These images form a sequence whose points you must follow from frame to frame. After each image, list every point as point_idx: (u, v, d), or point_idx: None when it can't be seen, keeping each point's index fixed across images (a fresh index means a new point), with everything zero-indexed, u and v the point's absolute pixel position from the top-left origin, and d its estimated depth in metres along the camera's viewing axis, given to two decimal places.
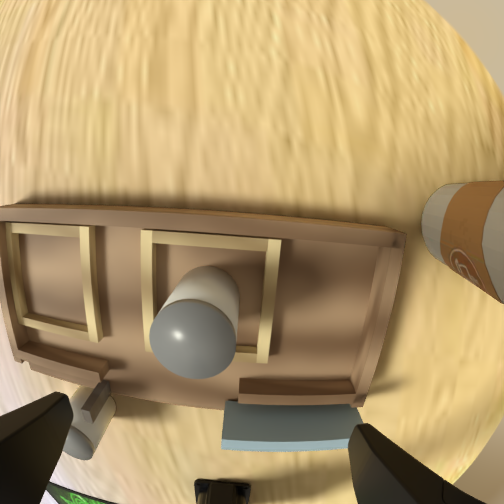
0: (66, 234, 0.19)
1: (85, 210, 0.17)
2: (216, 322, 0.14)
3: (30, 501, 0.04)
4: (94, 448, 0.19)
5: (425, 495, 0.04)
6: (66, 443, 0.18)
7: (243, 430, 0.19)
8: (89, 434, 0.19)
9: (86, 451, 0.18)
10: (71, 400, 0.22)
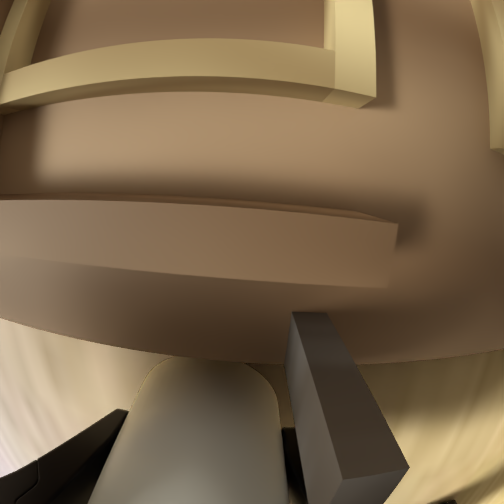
0: None
1: None
2: None
3: None
4: None
5: None
6: None
7: None
8: None
9: None
10: (144, 423, 0.05)
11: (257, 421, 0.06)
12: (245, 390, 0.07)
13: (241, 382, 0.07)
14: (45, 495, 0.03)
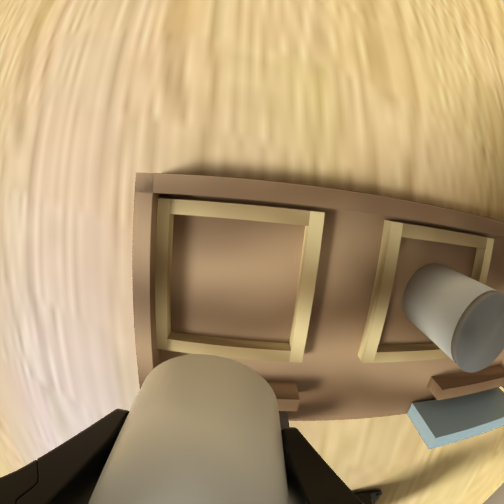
0: (285, 220, 0.16)
1: (338, 190, 0.15)
2: None
3: None
4: None
5: None
6: None
7: (444, 425, 0.16)
8: None
9: None
10: (144, 424, 0.05)
11: (256, 423, 0.06)
12: (245, 391, 0.07)
13: (241, 383, 0.07)
14: (45, 495, 0.03)
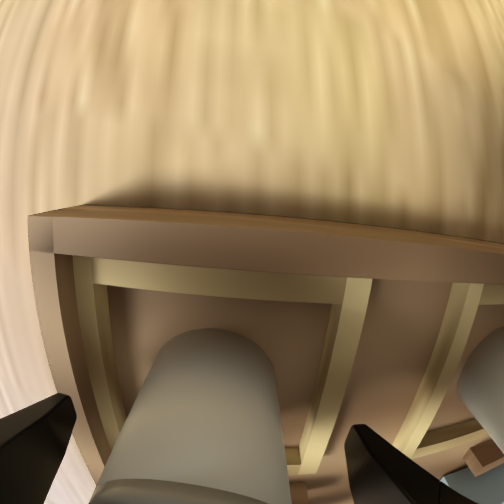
0: (301, 296, 0.08)
1: (405, 244, 0.07)
2: None
3: (33, 502, 0.04)
4: None
5: (421, 496, 0.04)
6: None
7: (478, 502, 0.09)
8: (285, 500, 0.04)
9: None
10: (161, 383, 0.07)
11: (256, 382, 0.08)
12: (246, 358, 0.09)
13: (243, 351, 0.09)
14: None
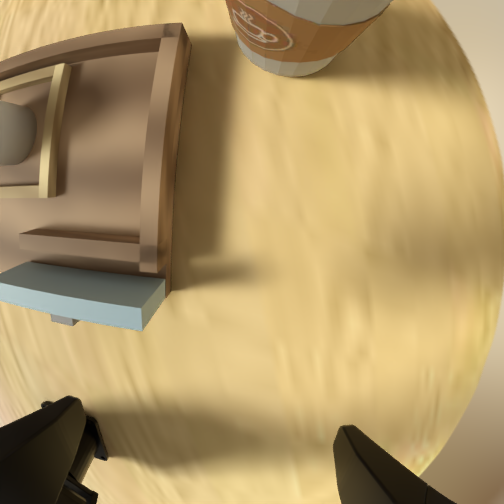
0: None
1: None
2: None
3: None
4: None
5: (407, 500, 0.04)
6: None
7: (12, 277, 0.14)
8: None
9: None
10: None
11: None
12: None
13: None
14: None
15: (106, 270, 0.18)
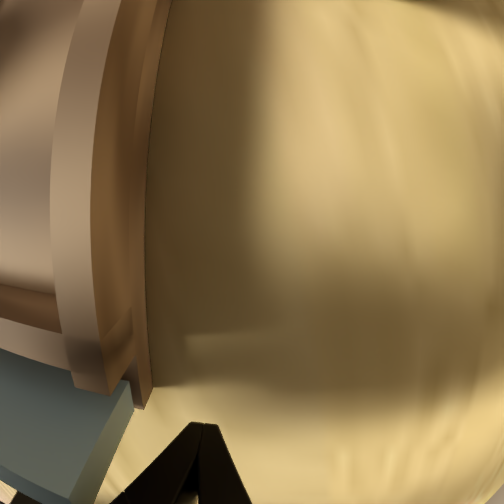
0: None
1: None
2: None
3: None
4: None
5: None
6: None
7: None
8: None
9: None
10: None
11: None
12: None
13: None
14: None
15: None
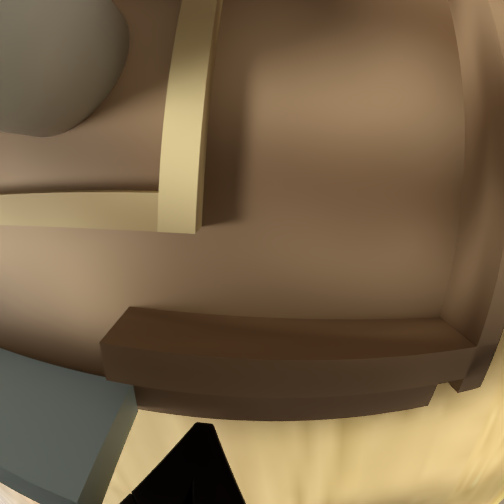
0: None
1: None
2: None
3: None
4: None
5: None
6: None
7: None
8: None
9: None
10: None
11: None
12: None
13: None
14: None
15: None
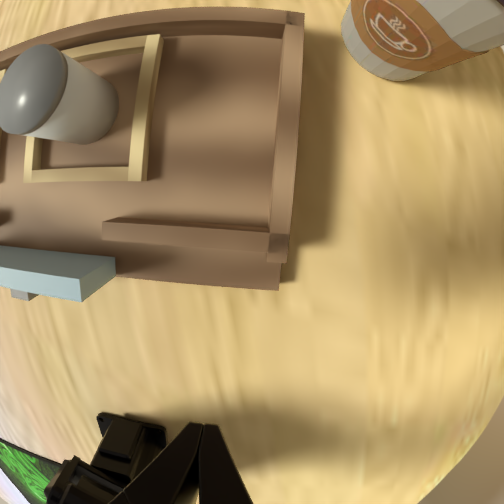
0: None
1: (4, 50, 0.12)
2: (49, 55, 0.09)
3: None
4: None
5: None
6: None
7: None
8: None
9: None
10: None
11: None
12: None
13: None
14: None
15: (210, 263, 0.18)
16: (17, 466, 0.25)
